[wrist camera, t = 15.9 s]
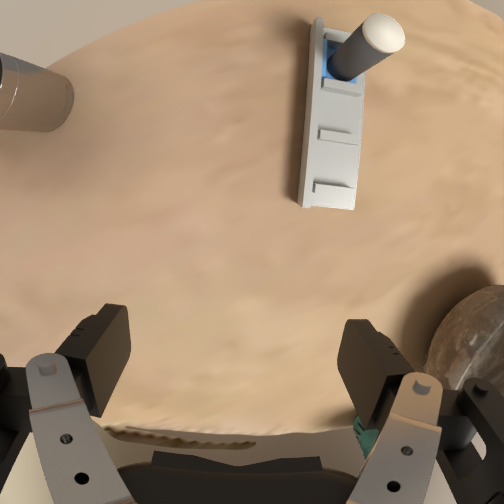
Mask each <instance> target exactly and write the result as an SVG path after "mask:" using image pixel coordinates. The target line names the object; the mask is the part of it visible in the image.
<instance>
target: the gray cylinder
mask: <svg viewBox="0 0 504 504" xmlns="http://www.w3.org/2000/svg"><path fill="white" fill-rule="evenodd" d="M404 43H405V35H404V31H403V29H402V28H401V26H400V25H399V24H398V22H397V21H395V20H394V19H393V18H391V17H390V16H388V15H385V14H380V13H377V14H372V15H370V16H369V17H368V18H367V19H366V20H365V21H364V22H363V23H362V24H361V25H360V26H359V27H358V28H357V29H356V30H355V31H354V32H353V33H352V34H351V35H350V36H349V37H348V38H347V39H346V40H345V42H344V43H343V44H342V45H341V46H340V47H339V48H338V49H337V50H336V51H335V52H334V53H333V54H332V55H331V56H330V57H329V59H328V61H327V69H328V72H329V73H330V75H331V76H332V77H333V78H335V79H336V80H339V81H344V82H348V81H351V80H352V79H354V78H355V77H357V76H358V75H360V74H361V73H363V72H365V71H366V70H368V69H369V68H371V67H372V66H374V65H375V64H377V63H379V62H380V61H382V60H383V59H385V58H386V57H388V56H390V55H391V54H393V53H395V52H396V51H398V50H399V49H401V48H402V47H403V45H404Z"/></svg>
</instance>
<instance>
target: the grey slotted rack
mask: <svg viewBox="0 0 504 504" xmlns="http://www.w3.org/2000/svg"><path fill="white" fill-rule="evenodd" d="M351 34H352V33H348V32H343V31H339V30H334V29H329V28H324V18H319V17H316V19H315V20H314V22H313V24H312V26H311V27H310V43H309V61H308V77H307V92H306V106H305V119H304V131H303V143H302V155H301V166H300V176H299V187H298V197H297V204H298V205H300V206H301V207H302V208H310V206H321V207H330V208H340V209H349V210H354V205H355V197H356V188H357V179H358V170H359V160H360V149H361V137H362V123H363V107H364V86H365V72H363V73H361V74H360V75H358V76H357V77H355V78H354V79H352V80H351V81H348V82H344V81H339V80H336V79H335V78H333V77H332V76H331V75H330V73H329V72H328V69H327V61H328V59H329V57H330V56H331V55H332V54H333V53H334V52H335V51H336V50H337V49H338V48H339V47H340V46H341V45H342V44H343V43H344V42H345V40H346V39H347V38H348V37H349V36H350V35H351Z"/></svg>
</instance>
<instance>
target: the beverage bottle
mask: <svg viewBox="0 0 504 504" xmlns="http://www.w3.org/2000/svg"><path fill="white" fill-rule="evenodd" d="M353 428H354V430H355V433H356V435H357V437H356V438H357V439H358V440H359V443H360V446H361V448H362V451H363V453H364V456H365V460H366V458H367V456H368V454H369V452H370V450H371V448H372V446H373V444H374V442H375V440H376V438H377V436H378V434H379V431H378V429H373V430H366V431H365V430H364V427H363V425H362V423H361V420H360V418H359V416H357V417H356V419H355V420H354V422H353Z"/></svg>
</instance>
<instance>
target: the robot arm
mask: <svg viewBox="0 0 504 504" xmlns="http://www.w3.org/2000/svg"><path fill="white" fill-rule="evenodd" d="M73 95H74V93H73V88H72V85H71V83H70V82H69V80H68V79H67V78H65V77H64V76H61V75H59V74H56V73H54V72H52V71H49V70H47V69H44V68H42V67H39V66H36V65H34V64H31V63H29V62H26V61H23V60H20V59H18V58H15V57H12V56H9V55H6V54H3V53H0V129H1V130H21V131H34V132H49V131H52V130H54V129H56V128H57V127H59V126H60V125H61V124H62V123H63V122H64V121H65V119H66V118H67V116H68V114H69V113H70V110H71V107H72V104H73ZM130 352H131V339H130V330H129V320H128V311H127V307H126V306H125V305H116V304H108V303H106V304H105V305H104V306H103V307H102V308H101V310H100V311H99V312H98V313H97V314H96V315H91V316H89V317H87V318H85V319H83V320H82V321H81V322H80V323H79V324H78V325H77V327H76V329H74V330H73V331H72V332H71V334H70V335H69V336H68V337H67V338H66V340H65V341H64V342H63V343H62V344H61V346H60V347H59V348H58V349H57V350H56V352H55V353H45V354H40V355H38V356H35V357H34V358H32V359H31V360H30V361H29V362H28V363H27V365H26V367H7V364H6V362H5V359H4V357H3V355H2V354H0V493H1V491H2V489H3V486H4V484H5V482H6V480H7V478H8V475H9V473H10V471H11V469H12V467H13V465H14V463H15V461H16V458H17V456H18V454H19V452H20V450H21V448H22V446H23V444H24V442H25V440H26V438H27V437H28V435H29V433H30V432H33V435H34V439H35V443H36V447H37V451H38V454H39V458H40V462H41V465H42V469H43V472H44V475H45V479H46V481H47V485H48V488H49V491H50V493H51V496H52V499H53V502H54V504H423V502H424V499H425V496H426V492H427V489H428V485H429V482H430V479H431V475H432V471H433V467H434V463H435V459H436V460H437V462H438V464H439V466H440V468H441V470H442V472H443V474H444V476H445V479H446V481H447V483H448V485H449V487H450V489H451V491H452V493H453V496H454V498H455V500H456V502H457V504H504V397H503V396H502V395H501V394H500V392H499V391H498V390H497V389H496V388H495V387H494V386H493V385H492V384H491V383H490V382H488V381H486V380H484V379H481V378H476V377H472V378H468V379H466V380H465V381H464V383H463V385H462V387H461V389H460V390H448V389H443V388H442V385H441V383H440V382H439V381H438V380H437V379H436V378H434V377H433V376H431V375H428V374H425V373H420V372H415V371H414V370H413V368H412V367H411V366H410V364H409V363H408V362H407V360H406V359H405V358H404V356H403V355H402V354H400V353H401V352H400V351H399V350H398V349H397V348H396V346H395V345H394V343H393V342H392V341H391V340H390V338H388V337H387V336H385V335H384V334H382V333H381V332H377V331H376V329H375V328H374V327H373V325H372V324H371V323H370V321H369V320H367V319H349V320H347V322H346V324H345V328H344V332H343V336H342V340H341V344H340V348H339V352H338V358H337V365H338V370H339V373H340V375H341V377H342V379H343V382H344V384H345V386H346V388H347V391H348V393H349V395H350V398H351V400H352V402H353V404H354V407H355V409H356V411H357V414H358V416H359V418H360V420H361V423H362V425H363V427H364V430H365V431H366V430H373V429H378V431H379V434H378V436H377V438H376V440H375V442H374V444H373V446H372V448H371V450H370V452H369V454H368V456H367V458H366V460H365V462H364V464H363V466H362V468H361V470H360V472H359V474H358V476H357V477H355V476H353V475H350V474H348V473H345V472H342V471H338V470H334V469H330V468H324V467H322V465H321V461H320V457H319V456H318V457H303V458H280V459H276V460H271V461H266V462H261V463H256V464H251V465H246V466H232V465H228V464H224V463H220V462H215V461H212V460H208V459H205V458H201V457H198V456H194V455H183V454H175V453H167V452H160V451H154V454H153V457H152V461H151V462H141V463H135V464H130V465H126V466H123V467H120V468H118V469H116V468H115V466H114V464H113V462H112V460H111V458H110V457H109V455H108V453H107V451H106V449H105V447H104V445H103V443H102V441H101V439H100V437H99V434H98V433H97V430H96V428H95V426H94V423H93V422H92V419H91V417H90V416H95V417H99V418H101V417H102V414H103V412H104V410H105V408H106V406H107V403H108V401H109V399H110V397H111V395H112V393H113V391H114V388H115V386H116V384H117V382H118V380H119V378H120V376H121V374H122V372H123V370H124V368H125V366H126V364H127V361H128V359H129V357H130ZM476 432H478V433H479V435H480V436H481V438H482V439H483V441H484V443H485V445H486V456H485V458H484V460H482V459H481V457H480V455H479V454H478V452H477V450H476V449H475V447H474V445H473V444H472V442H471V440H472V438H473V437H474V435H475V434H476Z"/></svg>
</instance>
